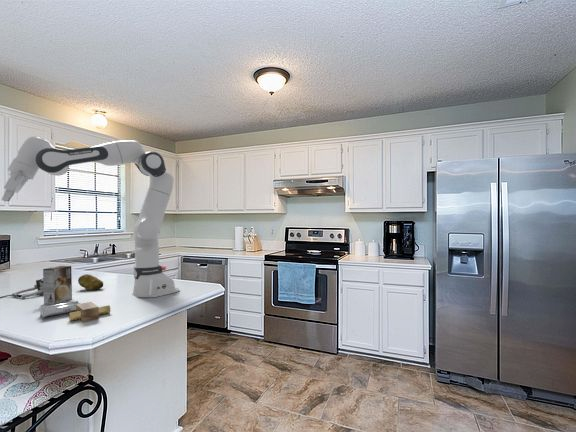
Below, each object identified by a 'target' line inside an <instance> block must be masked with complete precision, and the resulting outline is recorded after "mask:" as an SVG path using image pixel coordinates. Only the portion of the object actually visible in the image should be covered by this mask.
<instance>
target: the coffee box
mask: <svg viewBox="0 0 576 432" xmlns="http://www.w3.org/2000/svg"><path fill="white" fill-rule="evenodd" d="M42 272H43V273H42V276H43V277H42V278H43V284H44V293H43V304H45V305H57V304H61V303H64V302H66V300H67V301H70V300H72V299H73V286H72V285H73V284H72V283H73V281H72V280H73V278H72V275H73V274H72V265H58V266H57V265H56V266H54V267H53V266H52V268H51V267H48V268H46V267H45V268H43V269H42Z"/></svg>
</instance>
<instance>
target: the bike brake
mask: <svg viewBox="0 0 576 432" xmlns="http://www.w3.org/2000/svg"><path fill="white" fill-rule="evenodd" d="M33 286H34V287H29V288H26V289H22V290H19V291H16V292H12V293H11V294H8V295H4V296H0V299H3V298H5V297H15V298H21V300H24V299H26V298H29V297H32V296H33V297H34V296H35V295H38V294H41V295H44V284H43V277H42V278H41V279H37V280H35V284H34V285H33ZM35 290H37V291H35ZM30 291H34V292H32V293H28V294H23V295H22V293H27V292H30Z"/></svg>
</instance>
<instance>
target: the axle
mask: <svg viewBox="0 0 576 432" xmlns="http://www.w3.org/2000/svg"><path fill="white" fill-rule="evenodd" d="M98 307H99V316H102V315H107V314H110V313H111V306H110V305H103V306H98ZM80 319H81V311H77V312H71V313H69V315H68V320H69V322H73V321H78V320H80Z"/></svg>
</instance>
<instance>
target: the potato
mask: <svg viewBox="0 0 576 432" xmlns="http://www.w3.org/2000/svg"><path fill="white" fill-rule="evenodd" d="M77 281H78V282H77V283H78V284H79V286H80V287H82V288H84V289H85V290H87V291H96V290H100V289H102V288H103V287H104V281H102V280H101V279H100V278H98V277H96V276H94V275H92V274H82V275H81V276H80V277H78V278H77Z"/></svg>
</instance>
